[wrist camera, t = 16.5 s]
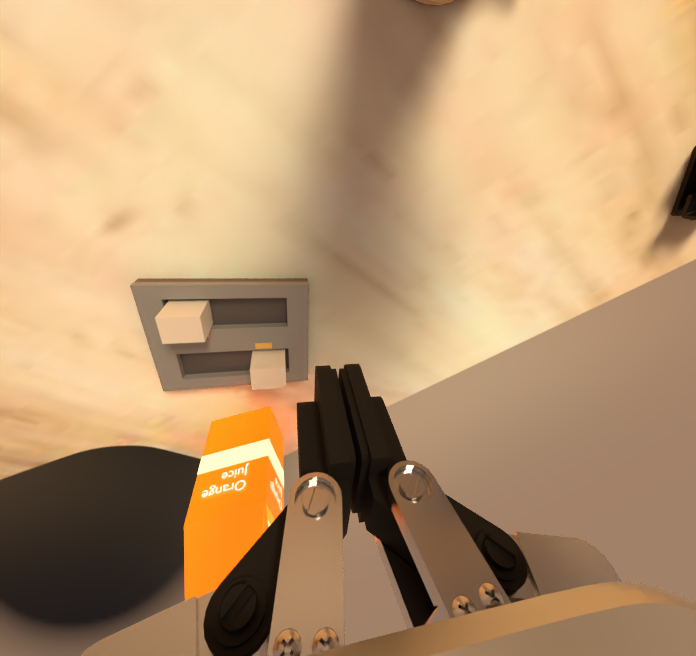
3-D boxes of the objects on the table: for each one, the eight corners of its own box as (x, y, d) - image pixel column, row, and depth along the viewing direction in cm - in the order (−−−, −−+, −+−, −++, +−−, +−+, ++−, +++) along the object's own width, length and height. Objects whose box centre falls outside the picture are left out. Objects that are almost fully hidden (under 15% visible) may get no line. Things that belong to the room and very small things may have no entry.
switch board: (307, 278, 34) (308, 284, 33) (306, 371, 41) (308, 380, 39) (138, 278, 31) (129, 285, 29) (168, 380, 37) (163, 391, 35)
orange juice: (283, 438, 47) (285, 593, 30) (229, 453, 46) (200, 621, 29) (270, 405, 43) (263, 562, 26) (210, 420, 42) (163, 594, 25)
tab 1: (208, 299, 32) (199, 316, 28) (213, 322, 33) (204, 342, 30) (169, 299, 31) (154, 317, 27) (175, 323, 33) (162, 344, 29)
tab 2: (284, 347, 37) (285, 367, 33) (285, 366, 38) (286, 387, 35) (252, 349, 36) (249, 370, 33) (254, 368, 38) (252, 390, 34)
